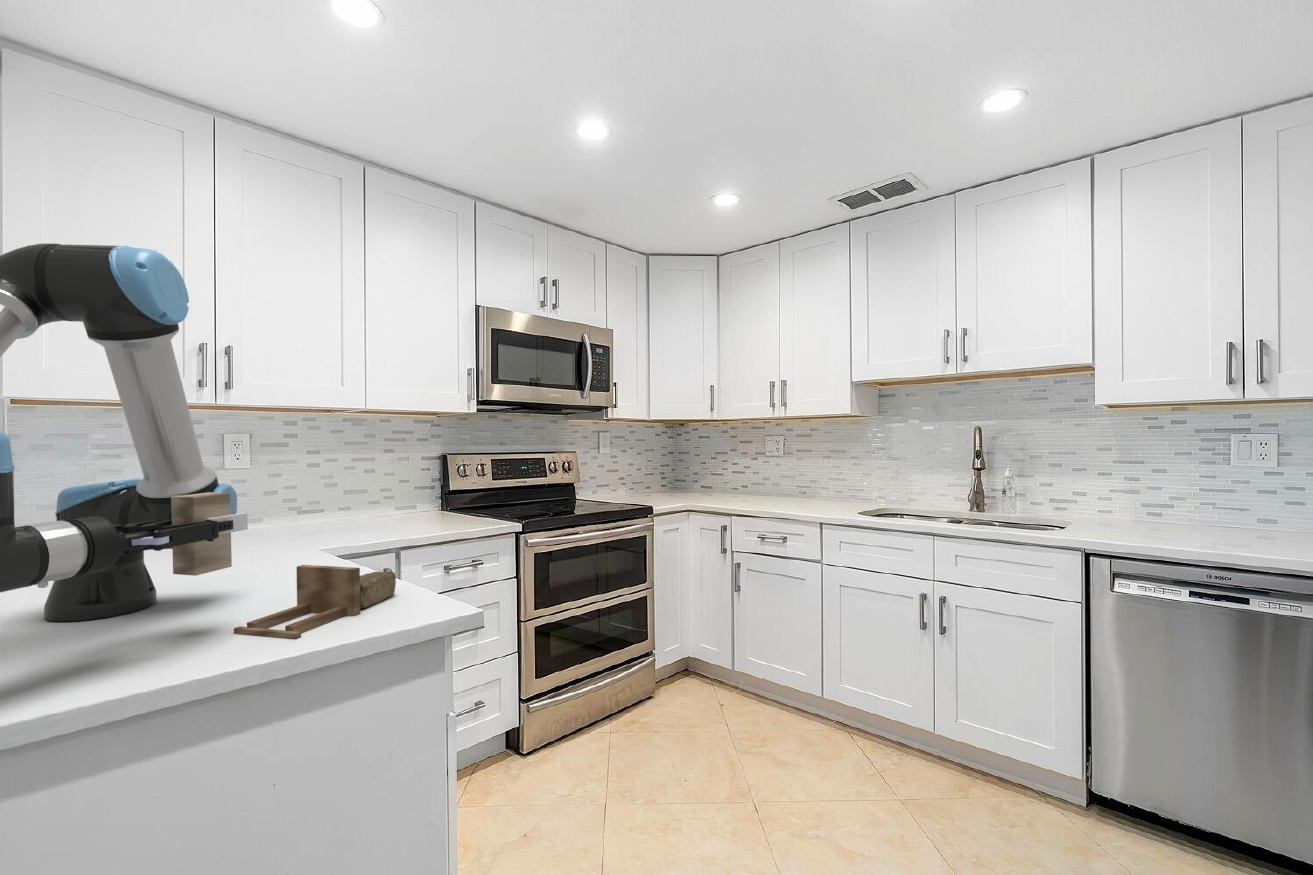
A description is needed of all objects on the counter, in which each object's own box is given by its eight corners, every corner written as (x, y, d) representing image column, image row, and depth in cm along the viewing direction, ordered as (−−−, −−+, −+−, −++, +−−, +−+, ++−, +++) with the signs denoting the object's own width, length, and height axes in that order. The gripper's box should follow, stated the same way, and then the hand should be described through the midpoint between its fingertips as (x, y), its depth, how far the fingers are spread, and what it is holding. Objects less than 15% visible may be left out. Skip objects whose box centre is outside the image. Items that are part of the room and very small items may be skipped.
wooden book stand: (233, 633, 97) (233, 582, 97) (303, 609, 111) (303, 564, 111) (295, 639, 94) (295, 586, 94) (360, 613, 108) (359, 567, 108)
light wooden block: (173, 573, 95) (171, 496, 95) (210, 565, 101) (208, 492, 101) (195, 575, 94) (193, 497, 94) (231, 566, 100) (230, 493, 100)
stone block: (398, 595, 120) (397, 570, 120) (361, 613, 109) (361, 584, 109) (370, 594, 121) (370, 569, 121) (332, 612, 110) (331, 584, 110)
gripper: (22, 573, 83) (192, 540, 105) (119, 581, 78) (276, 545, 101) (20, 517, 82) (191, 496, 105) (118, 522, 78) (275, 499, 100)
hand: (232, 520), depth 103 cm, fingers closed on light wooden block, 4 cm apart
